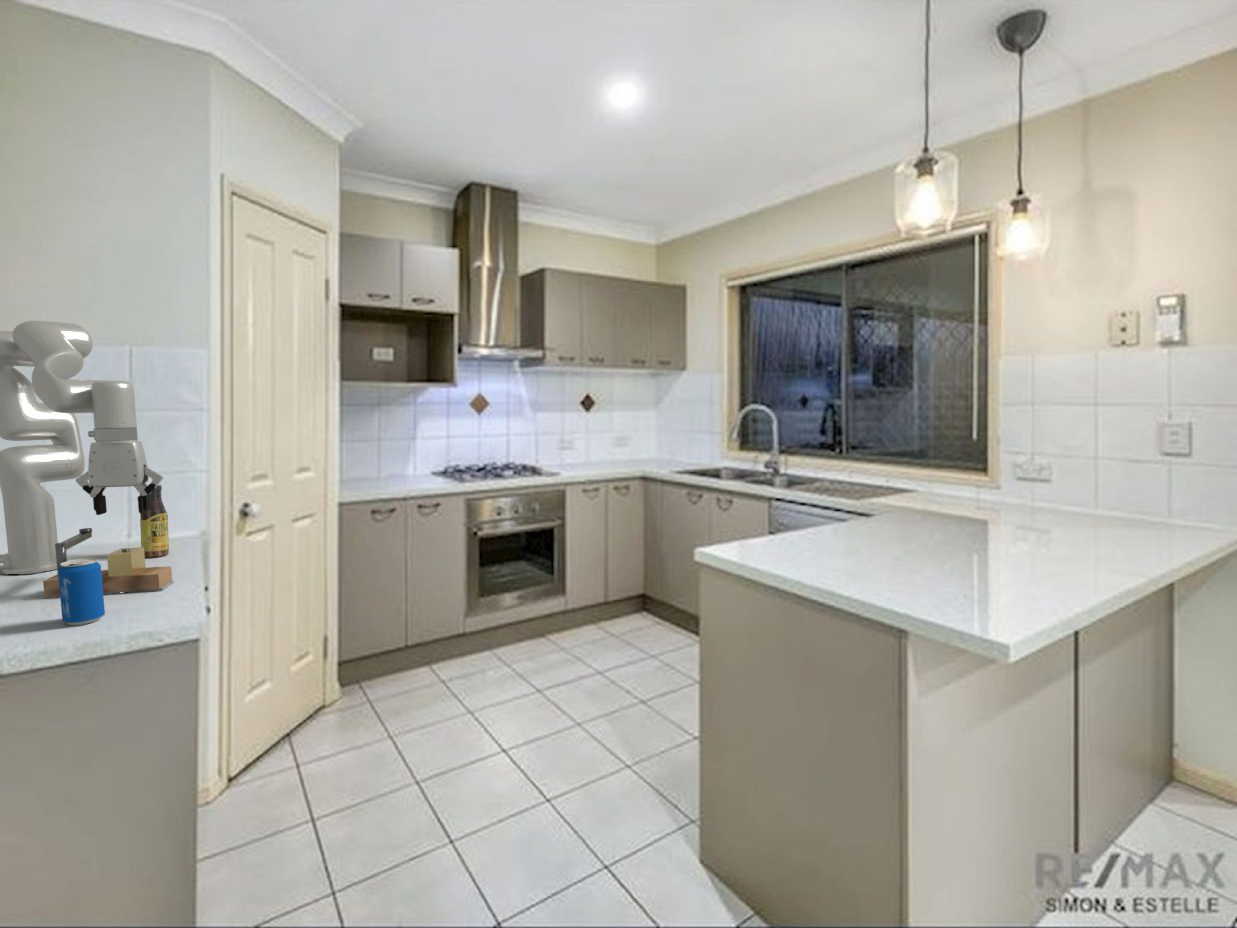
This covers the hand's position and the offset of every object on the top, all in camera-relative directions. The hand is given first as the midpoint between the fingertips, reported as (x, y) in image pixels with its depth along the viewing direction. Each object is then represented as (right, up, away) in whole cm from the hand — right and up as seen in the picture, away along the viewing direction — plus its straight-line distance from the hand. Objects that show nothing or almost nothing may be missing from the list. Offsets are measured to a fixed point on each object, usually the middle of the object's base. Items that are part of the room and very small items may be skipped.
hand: (122, 512), depth 146 cm
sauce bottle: (-16, -15, +33) cm, 39 cm away
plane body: (-3, -18, +1) cm, 18 cm away
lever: (-15, -13, +5) cm, 20 cm away
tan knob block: (0, -14, +1) cm, 14 cm away
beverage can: (+7, -20, -19) cm, 29 cm away
